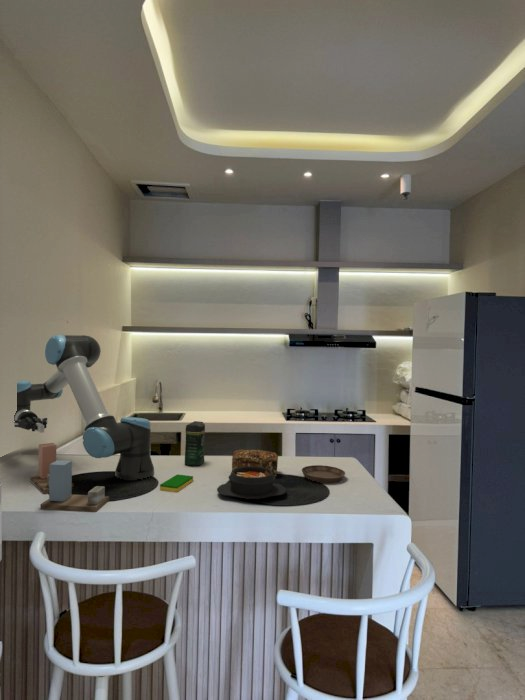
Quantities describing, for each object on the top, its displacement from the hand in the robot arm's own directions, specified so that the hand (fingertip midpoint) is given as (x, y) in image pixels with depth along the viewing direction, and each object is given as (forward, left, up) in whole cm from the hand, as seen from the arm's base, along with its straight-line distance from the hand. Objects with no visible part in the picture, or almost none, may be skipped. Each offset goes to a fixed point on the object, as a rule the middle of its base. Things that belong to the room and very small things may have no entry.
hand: (42, 429), depth 180 cm
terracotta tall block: (-5, +5, -17) cm, 18 cm away
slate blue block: (-22, +27, -17) cm, 39 cm away
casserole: (-84, +9, -19) cm, 87 cm away
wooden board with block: (-27, +27, -19) cm, 43 cm away
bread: (-83, -16, -19) cm, 87 cm away
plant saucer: (-111, -15, -19) cm, 114 cm away
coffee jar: (-55, -27, -19) cm, 64 cm away
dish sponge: (-55, +3, -19) cm, 58 cm away
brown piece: (-9, +9, -19) cm, 22 cm away
